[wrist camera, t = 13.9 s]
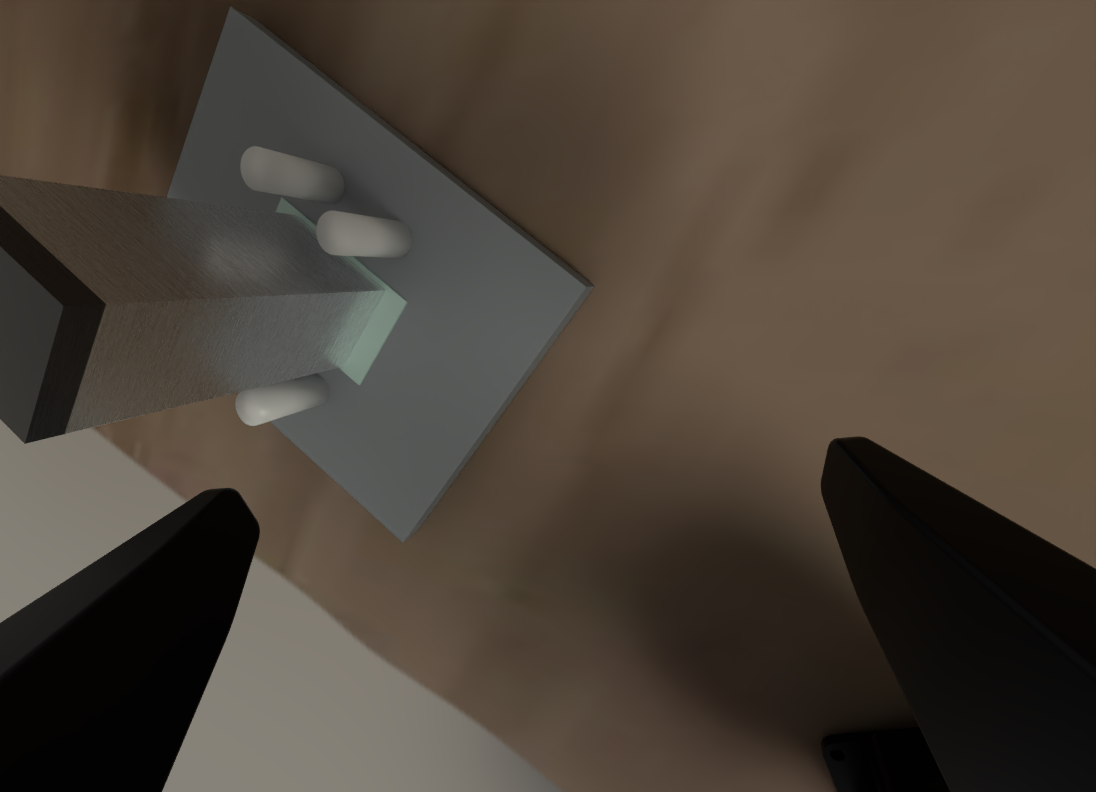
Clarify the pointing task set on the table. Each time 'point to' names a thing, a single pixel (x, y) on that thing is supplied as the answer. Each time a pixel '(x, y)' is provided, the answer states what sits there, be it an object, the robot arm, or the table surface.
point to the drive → (159, 304)
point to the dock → (378, 275)
